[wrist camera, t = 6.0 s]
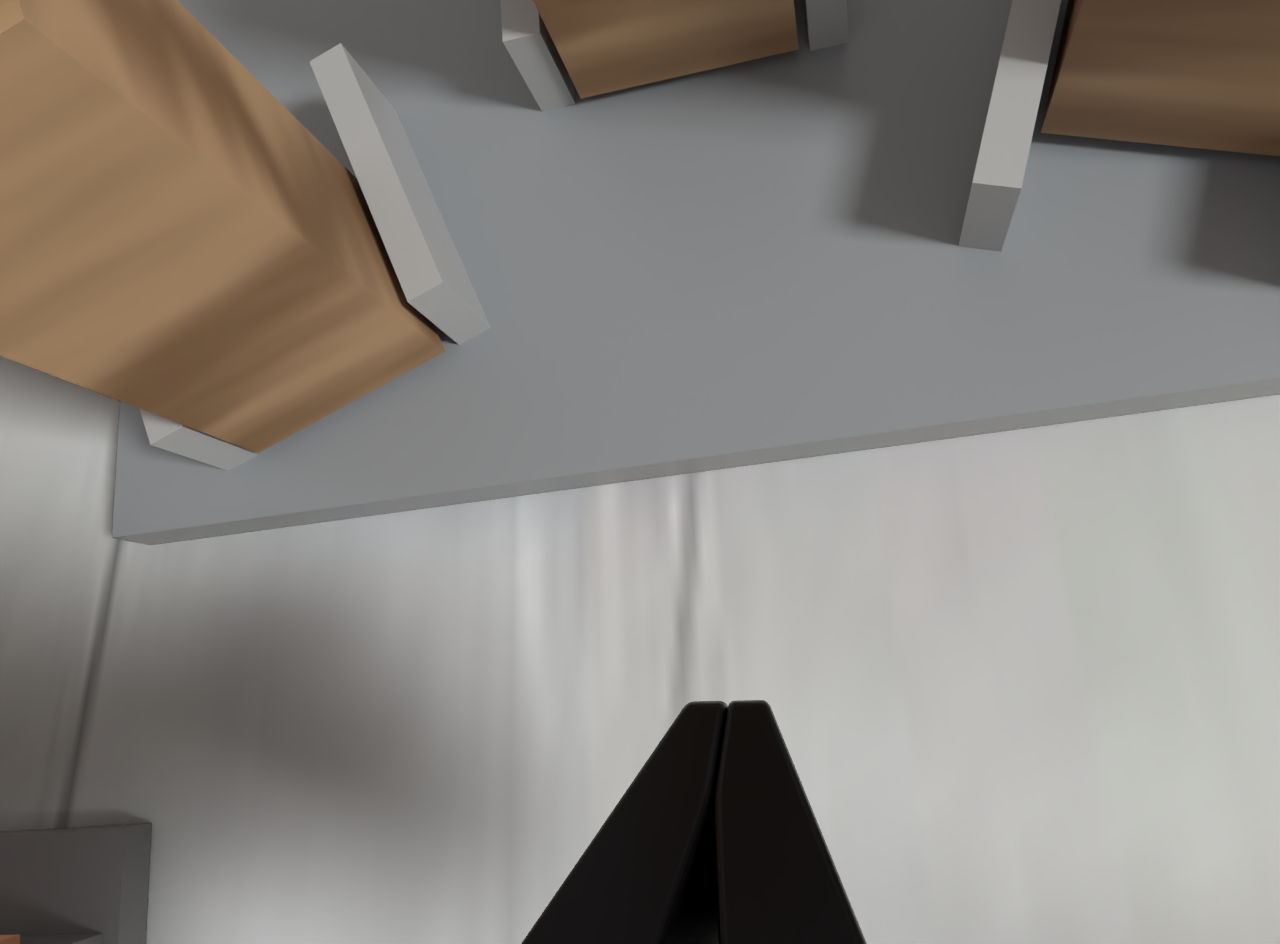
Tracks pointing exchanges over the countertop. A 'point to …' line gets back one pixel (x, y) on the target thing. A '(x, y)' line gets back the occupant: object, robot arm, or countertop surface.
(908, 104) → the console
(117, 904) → the pattern card
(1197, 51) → the plunger
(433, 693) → the countertop surface
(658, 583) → the countertop surface
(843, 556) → the countertop surface
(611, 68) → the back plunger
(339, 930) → the countertop surface
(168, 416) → the plunger
